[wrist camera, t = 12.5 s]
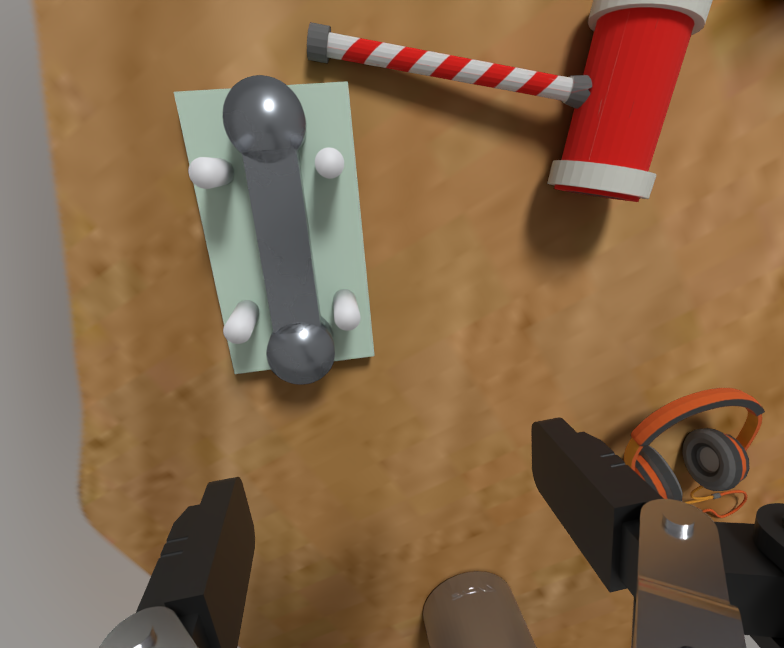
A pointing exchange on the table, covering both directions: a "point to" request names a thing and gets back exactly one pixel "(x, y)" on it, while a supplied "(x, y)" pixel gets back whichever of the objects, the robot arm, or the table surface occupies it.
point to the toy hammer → (575, 87)
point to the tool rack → (324, 211)
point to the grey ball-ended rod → (281, 223)
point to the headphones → (696, 446)
